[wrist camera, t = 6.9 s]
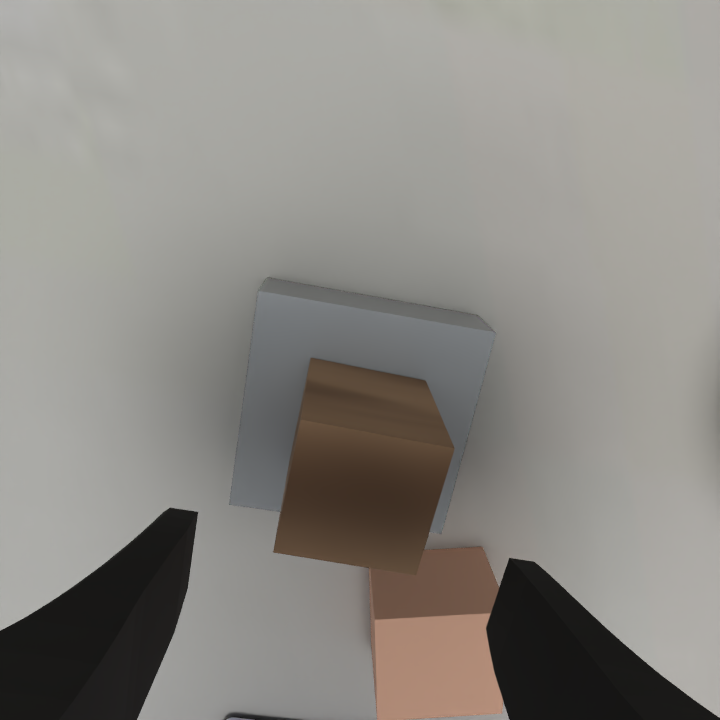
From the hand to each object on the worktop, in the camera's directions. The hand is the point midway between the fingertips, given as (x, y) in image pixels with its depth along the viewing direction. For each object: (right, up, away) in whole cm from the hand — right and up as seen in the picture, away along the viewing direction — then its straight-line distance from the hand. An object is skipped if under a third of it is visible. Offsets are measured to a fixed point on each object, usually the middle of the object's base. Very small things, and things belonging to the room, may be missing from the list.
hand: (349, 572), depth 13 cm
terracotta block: (+3, -6, +13) cm, 14 cm away
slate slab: (0, +4, +10) cm, 10 cm away
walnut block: (0, +3, +7) cm, 7 cm away
